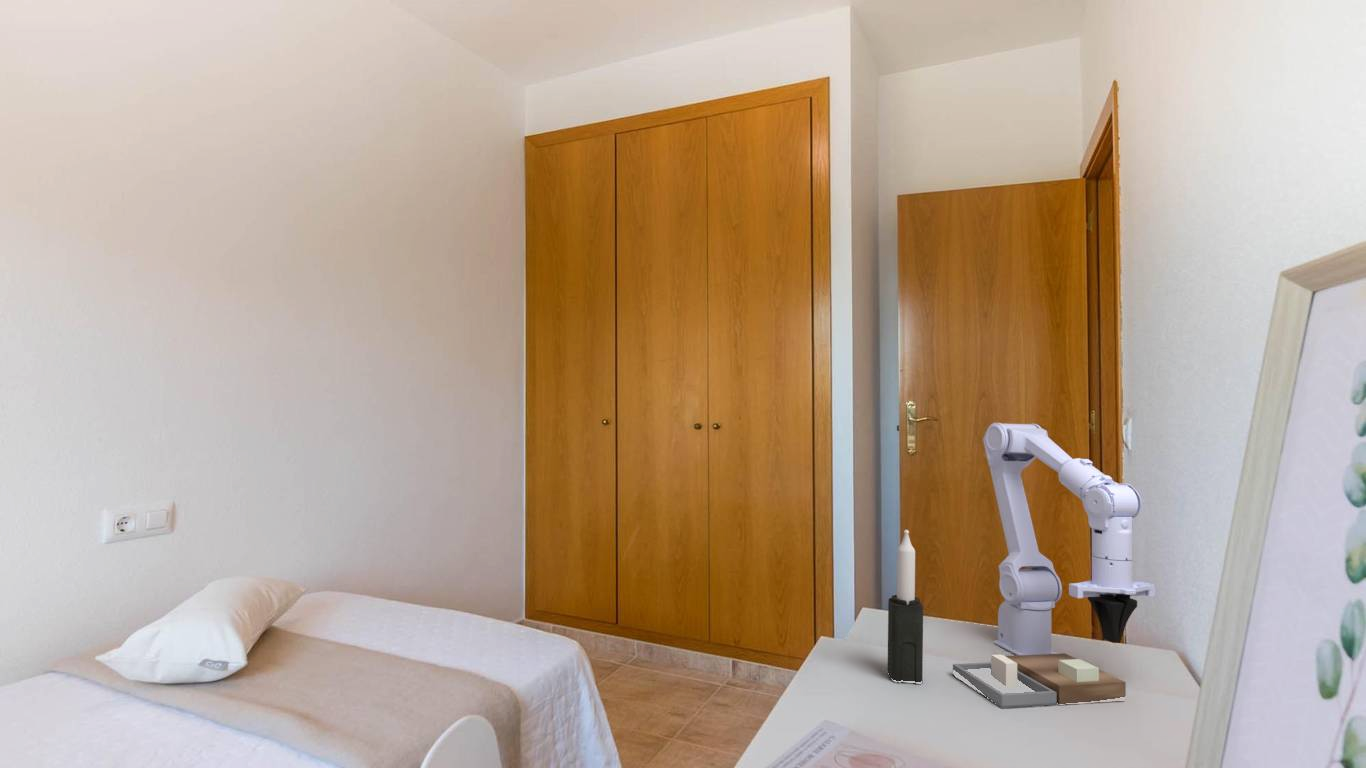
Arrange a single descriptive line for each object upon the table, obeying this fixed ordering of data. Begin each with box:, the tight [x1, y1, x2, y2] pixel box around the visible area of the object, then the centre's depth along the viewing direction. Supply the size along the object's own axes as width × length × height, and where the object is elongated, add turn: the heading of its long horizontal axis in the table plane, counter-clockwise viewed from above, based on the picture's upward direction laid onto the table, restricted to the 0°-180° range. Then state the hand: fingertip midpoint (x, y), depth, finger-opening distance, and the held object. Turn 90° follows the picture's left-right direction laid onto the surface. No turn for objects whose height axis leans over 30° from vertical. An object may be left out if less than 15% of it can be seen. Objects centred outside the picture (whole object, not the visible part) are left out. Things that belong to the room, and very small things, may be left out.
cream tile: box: [990, 654, 1017, 687], centre depth 112 cm, size 4×4×2 cm
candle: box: [887, 529, 924, 682], centre depth 114 cm, size 5×5×25 cm
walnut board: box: [1005, 652, 1127, 705], centre depth 112 cm, size 13×12×3 cm
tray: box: [952, 661, 1058, 709], centre depth 110 cm, size 13×10×2 cm
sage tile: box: [1058, 658, 1100, 682], centre depth 109 cm, size 4×4×2 cm
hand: (1112, 640), depth 110 cm, fingers closed
